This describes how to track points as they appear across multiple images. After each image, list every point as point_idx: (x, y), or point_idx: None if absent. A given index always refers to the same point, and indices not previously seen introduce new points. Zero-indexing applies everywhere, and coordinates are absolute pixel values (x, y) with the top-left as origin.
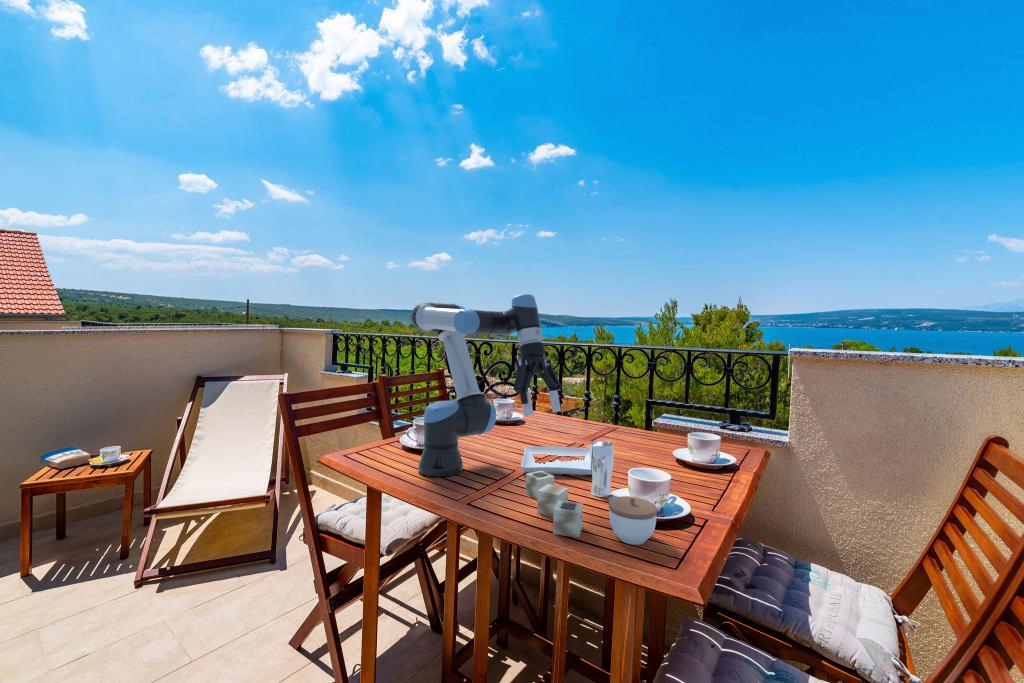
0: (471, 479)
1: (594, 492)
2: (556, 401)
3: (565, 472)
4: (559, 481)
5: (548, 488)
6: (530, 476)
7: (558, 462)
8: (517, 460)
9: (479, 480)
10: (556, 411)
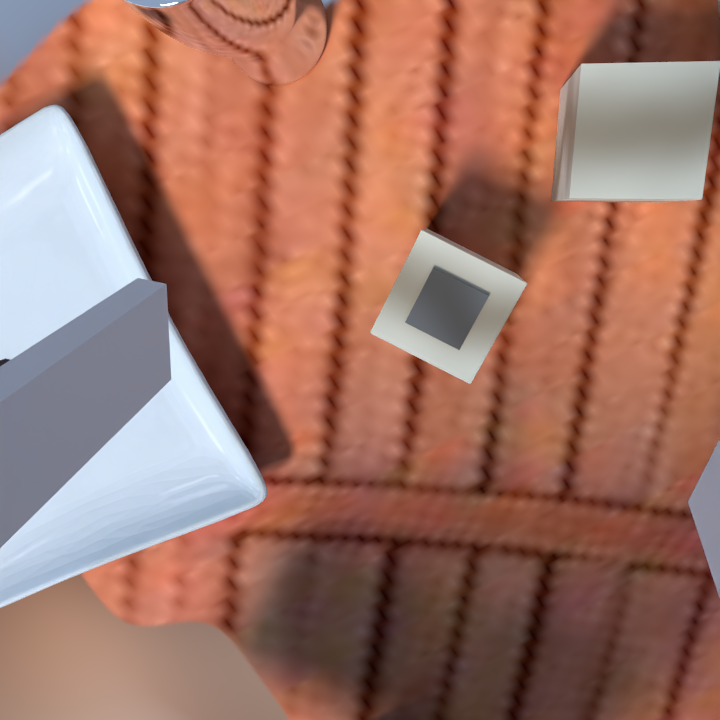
0: (452, 644)
1: (319, 43)
2: (90, 361)
3: None
4: (240, 286)
5: (643, 160)
6: (492, 344)
7: None
8: (102, 587)
9: (443, 609)
10: (166, 328)
